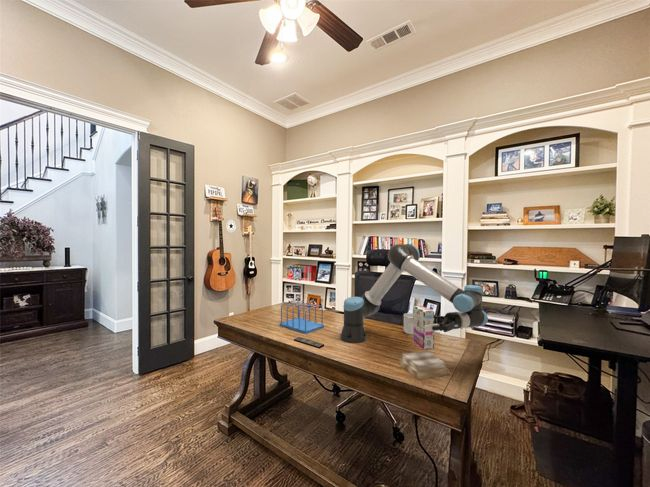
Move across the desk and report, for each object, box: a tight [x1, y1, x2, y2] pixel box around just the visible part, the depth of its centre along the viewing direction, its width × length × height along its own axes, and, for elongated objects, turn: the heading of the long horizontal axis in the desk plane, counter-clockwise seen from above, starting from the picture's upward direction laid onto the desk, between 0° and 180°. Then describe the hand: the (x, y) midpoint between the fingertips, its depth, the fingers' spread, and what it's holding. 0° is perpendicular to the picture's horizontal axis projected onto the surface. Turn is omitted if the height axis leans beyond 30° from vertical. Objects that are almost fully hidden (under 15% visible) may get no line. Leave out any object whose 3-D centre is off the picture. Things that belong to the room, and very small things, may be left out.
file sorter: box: [279, 299, 325, 335], centre depth 182 cm, size 25×17×15 cm
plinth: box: [398, 350, 450, 380], centre depth 122 cm, size 15×15×5 cm
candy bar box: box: [413, 305, 435, 351], centre depth 122 cm, size 11×5×16 cm, turn 5°
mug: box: [403, 312, 414, 336], centre depth 172 cm, size 12×9×11 cm
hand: (416, 324), depth 121 cm, fingers closed on candy bar box, 12 cm apart
